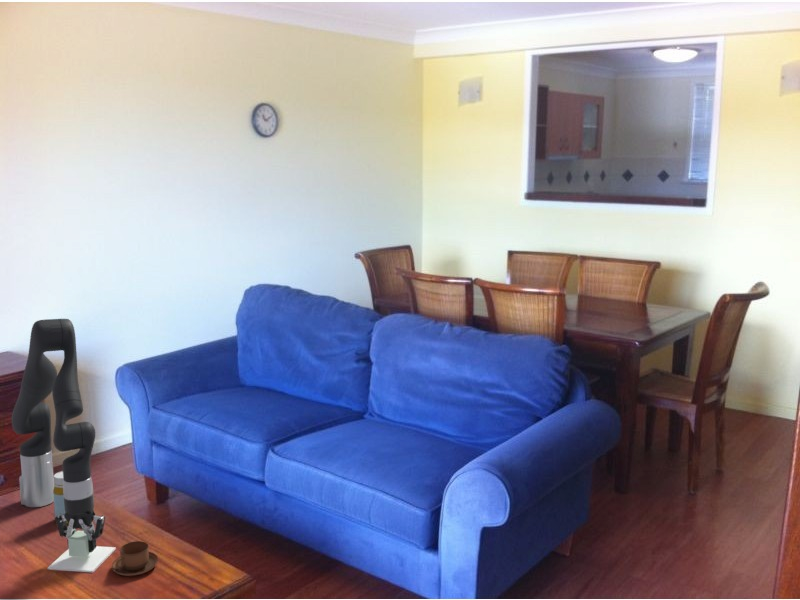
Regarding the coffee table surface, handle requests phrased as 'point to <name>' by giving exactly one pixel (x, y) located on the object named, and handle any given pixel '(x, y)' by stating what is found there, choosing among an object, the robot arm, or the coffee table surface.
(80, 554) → the sage cube
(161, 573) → the coffee table surface
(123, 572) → the cup and saucer
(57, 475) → the bottle
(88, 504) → the robot arm
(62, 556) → the mat
